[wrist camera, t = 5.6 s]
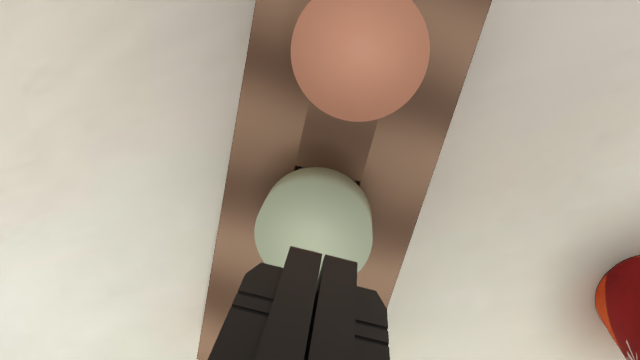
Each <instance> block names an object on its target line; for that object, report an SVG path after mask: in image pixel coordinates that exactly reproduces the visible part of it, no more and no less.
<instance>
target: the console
mask: <svg viewBox="0 0 640 360" xmlns="http://www.w3.org/2000/svg"><path fill="white" fill-rule="evenodd" d="M310 1H311V0H256V3H255V9H254V15H253V21H252V27H251V33H250V39H249V45H248V51H247V58H246V64H245V70H244V76H243V82H242V88H241V94H240V100H239V106H238V112H237V118H236V124H235V130H234V136H233V142H232V148H231V154H230V160H229V166H228V172H227V179H226V185H225V191H224V197H223V203H222V209H221V215H220V221H219V227H218V233H217V239H216V245H215V251H214V257H213V263H212V269H211V275H210V281H209V287H208V293H207V299H206V306H205V312H204V318H203V324H202V330H201V336H200V342H199V348H198V354H197V359H198V360H208V357H209V355H210V353H211V351H212V348H213V346H214V344H215V341H216V339H217V337H218V335H219V332H220V330H221V328H222V326H223V323H224V321H225V319H226V317H227V314H228V312H229V310H230V308H231V306H232V303H233V301H234V298H235V296H236V294H237V292H238V289H239V287H240V285H241V282H242V280H243V278H244V276H245V274H246V273H247V272H248V271H250V270H251V269H253V268H254V267H255V266H257V265H258V264H259V263H264V262H263V260H262V258H261V257H260V255H259V253H258V250H257V247H256V244H255V238H254V229H255V222H256V219H257V216H258V213H259V211H260V209H261V207H262V205H263V203H264V201H265V199H266V198H267V196H268V194H269V192H270V190H271V189H272V187H273V186H274V185H275V184H276V183H277V182H278V181H279V180H280V179H281V178H282V177H284V176H285V175H287V174H289V173H291V172H293V171H295V170H298V166H300V167H304V168H307V167H324V168H329V169H333V170H336V171H338V172H340V173H343V174H344V175H346V176H348V177H349V178H351V179H352V180H356V184H357V185H358V186H359V187H360V188H361V189H362V191H363V192H364V193H365V195H366V197H367V199H368V202H369V204H370V208H371V214H372V234H373V241H372V248H371V252H370V255H369V257H368V260H367V261H366V263H365V265H364V266H363V267H362V269H361V270H360V271H359V272H358V273H357V286H359V287H363V288H367V289H371V290H375V291H377V293H378V295H379V296H380V298H381V300H382V301H383V303H384V305H385V307H386V308H387V307H388V304H389V301H390V298H391V295H392V292H393V289H394V286H395V283H396V280H397V277H398V274H399V271H400V269H401V266H402V263H403V260H404V257H405V254H406V251H407V248H408V245H409V242H410V239H411V236H412V233H413V230H414V227H415V225H416V222H417V219H418V216H419V213H420V210H421V207H422V204H423V201H424V198H425V195H426V192H427V189H428V186H429V183H430V181H431V178H432V175H433V172H434V169H435V166H436V163H437V160H438V157H439V154H440V151H441V148H442V145H443V142H444V139H445V137H446V134H447V131H448V128H449V125H450V122H451V119H452V116H453V113H454V110H455V107H456V104H457V101H458V98H459V95H460V93H461V90H462V87H463V84H464V81H465V78H466V75H467V72H468V69H469V66H470V63H471V60H472V57H473V54H474V52H475V49H476V46H477V43H478V40H479V37H480V34H481V31H482V28H483V25H484V22H485V19H486V16H487V13H488V10H489V8H490V5H491V2H492V0H412V1H413V3H414V4H415V5H416V6H417V8H418V9H419V11H420V13H421V14H422V16H423V19H424V21H425V23H426V26H427V30H428V34H429V41H430V55H429V63H428V67H427V71H426V73H425V76H424V79H423V81H422V83H421V84H420V86H419V88H418V89H417V91H416V92H415V94H414V95H413V96H412V97H411V98H410V100H409V101H408V102H407V103H405V104H404V105H403V106H402V107H401V108H399V109H398V110H396V111H395V112H393V113H391V114H389V115H387V116H385V117H382V118H379V119H376V120H372V121H364V122H352V121H346V120H341V119H338V118H335V117H333V116H330V115H328V114H326V113H325V112H323V111H321V110H320V109H319V108H317V107H316V106H315V105H314V104H313V103H312V102H311V101H310V100H309V99H308V98H307V97H306V96H305V94H304V93H303V91H302V90H301V88H300V86H299V85H298V83H297V80H296V78H295V75H294V72H293V68H292V63H291V41H292V35H293V31H294V28H295V25H296V23H297V20H298V18H299V16H300V15H301V13H302V11H303V10H304V8H305V7H306V6H307V4H308V3H309V2H310Z"/></svg>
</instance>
